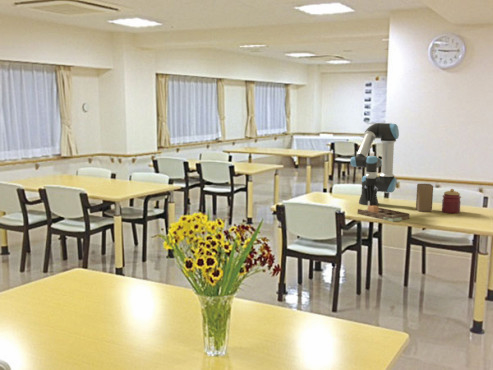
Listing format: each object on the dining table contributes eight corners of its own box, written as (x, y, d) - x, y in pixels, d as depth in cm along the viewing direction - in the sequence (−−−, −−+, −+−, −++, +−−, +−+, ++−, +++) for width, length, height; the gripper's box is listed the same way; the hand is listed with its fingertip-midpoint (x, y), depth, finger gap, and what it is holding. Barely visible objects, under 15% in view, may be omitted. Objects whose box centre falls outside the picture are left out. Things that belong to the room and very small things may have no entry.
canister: (447, 214, 389) (449, 190, 386) (438, 210, 402) (439, 187, 399) (463, 213, 391) (465, 189, 389) (453, 210, 404) (455, 187, 401)
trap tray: (357, 213, 388) (357, 209, 388) (373, 211, 399) (374, 206, 398) (392, 221, 362) (392, 216, 362) (409, 218, 373) (409, 213, 372)
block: (428, 209, 406) (430, 183, 403) (432, 212, 396) (433, 185, 393) (415, 209, 407) (416, 183, 404) (418, 211, 397) (419, 185, 394)
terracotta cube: (367, 212, 383) (368, 205, 382) (372, 211, 386) (373, 205, 385) (373, 213, 379) (373, 206, 378) (378, 212, 382) (378, 206, 381)
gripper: (360, 176, 384) (359, 208, 388) (374, 179, 374) (372, 211, 377) (367, 176, 388) (366, 207, 392) (381, 178, 378) (380, 210, 381)
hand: (369, 209), depth 384 cm, fingers closed
